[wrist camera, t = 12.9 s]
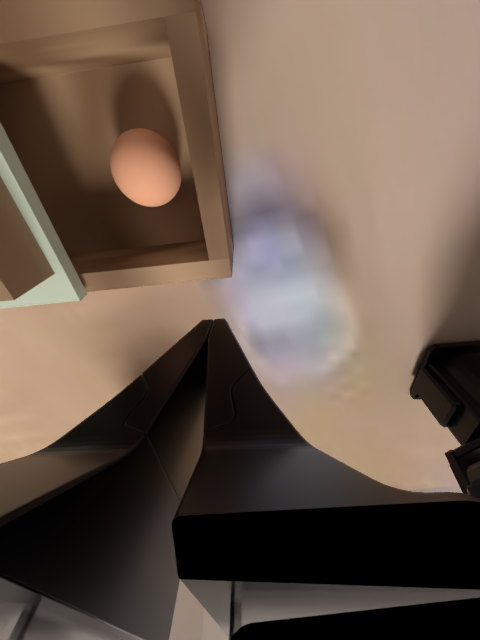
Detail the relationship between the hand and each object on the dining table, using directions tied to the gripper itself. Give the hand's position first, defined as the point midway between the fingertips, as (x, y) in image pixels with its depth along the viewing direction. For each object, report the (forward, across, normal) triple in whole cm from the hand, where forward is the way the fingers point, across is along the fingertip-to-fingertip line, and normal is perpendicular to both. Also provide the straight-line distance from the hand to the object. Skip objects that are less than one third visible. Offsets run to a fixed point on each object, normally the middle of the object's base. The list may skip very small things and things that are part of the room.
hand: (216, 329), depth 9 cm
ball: (+6, +3, -5) cm, 9 cm away
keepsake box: (+9, +6, -5) cm, 12 cm away
